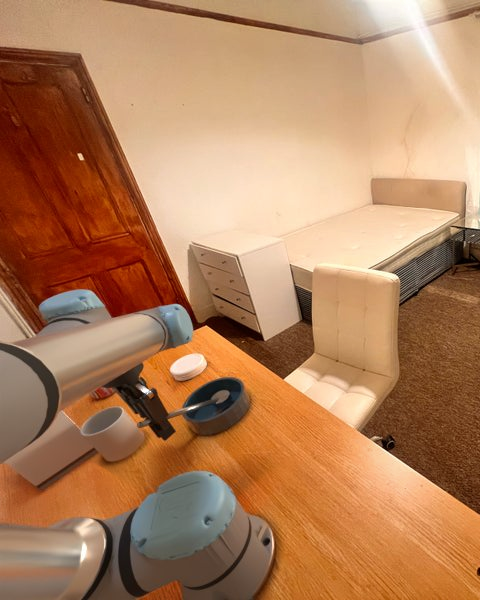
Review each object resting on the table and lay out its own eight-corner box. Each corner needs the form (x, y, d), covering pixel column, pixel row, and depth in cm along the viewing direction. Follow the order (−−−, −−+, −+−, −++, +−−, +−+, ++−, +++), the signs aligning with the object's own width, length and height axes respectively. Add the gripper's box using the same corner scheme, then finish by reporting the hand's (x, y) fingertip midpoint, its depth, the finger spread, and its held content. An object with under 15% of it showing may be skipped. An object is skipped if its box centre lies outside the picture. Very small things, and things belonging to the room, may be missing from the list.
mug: (152, 438, 82) (131, 411, 77) (118, 467, 76) (91, 440, 70) (126, 425, 87) (103, 398, 81) (90, 451, 80) (63, 425, 74)
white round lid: (204, 356, 110) (200, 348, 108) (210, 370, 103) (206, 363, 102) (172, 370, 105) (167, 362, 103) (176, 386, 98) (171, 378, 96)
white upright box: (84, 433, 85) (-13, 333, 67) (100, 450, 80) (-1, 347, 62) (28, 469, 77) (-101, 366, 59) (41, 491, 72) (-95, 386, 54)
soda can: (97, 388, 100) (74, 360, 94) (123, 380, 102) (103, 353, 96) (89, 404, 94) (64, 375, 88) (117, 395, 97) (95, 367, 90)
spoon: (223, 393, 91) (206, 362, 84) (235, 397, 89) (219, 366, 82) (156, 454, 75) (129, 422, 69) (169, 460, 73) (142, 428, 67)
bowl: (218, 444, 79) (209, 429, 76) (178, 426, 85) (168, 412, 82) (262, 398, 91) (256, 384, 88) (224, 385, 97) (217, 371, 94)
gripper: (154, 357, 63) (201, 430, 75) (112, 343, 68) (162, 413, 80) (113, 383, 57) (171, 458, 69) (71, 366, 62) (132, 438, 74)
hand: (166, 434), depth 74 cm, fingers closed on spoon
